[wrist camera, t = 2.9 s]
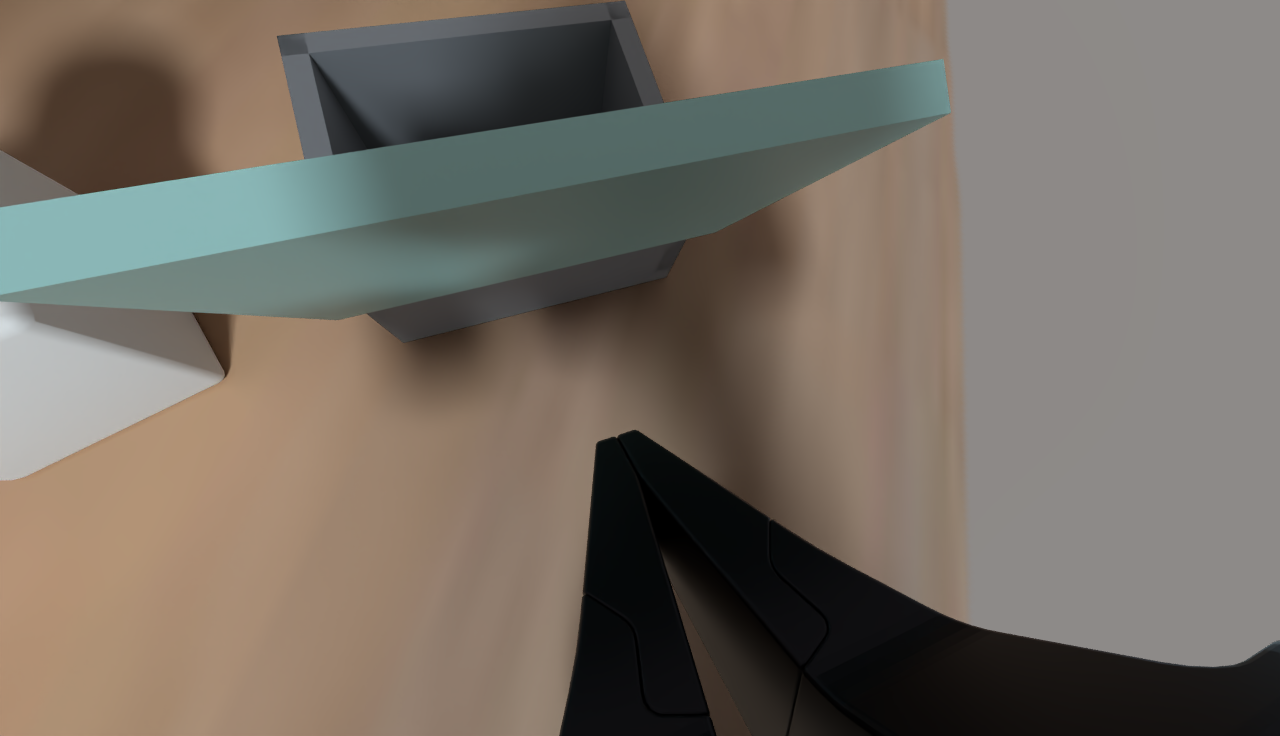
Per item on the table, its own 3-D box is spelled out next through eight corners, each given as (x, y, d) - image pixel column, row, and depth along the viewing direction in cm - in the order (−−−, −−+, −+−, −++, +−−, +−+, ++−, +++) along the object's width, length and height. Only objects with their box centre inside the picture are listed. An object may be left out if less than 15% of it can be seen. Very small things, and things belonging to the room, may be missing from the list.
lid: (710, 209, 16) (715, 232, 16) (328, 292, 13) (337, 320, 13) (943, 59, 7) (951, 112, 7) (-67, 216, 4) (-27, 300, 4)
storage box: (666, 277, 22) (703, 206, 16) (403, 342, 19) (333, 286, 13) (609, 118, 23) (624, 0, 17) (358, 158, 20) (277, 35, 15)
